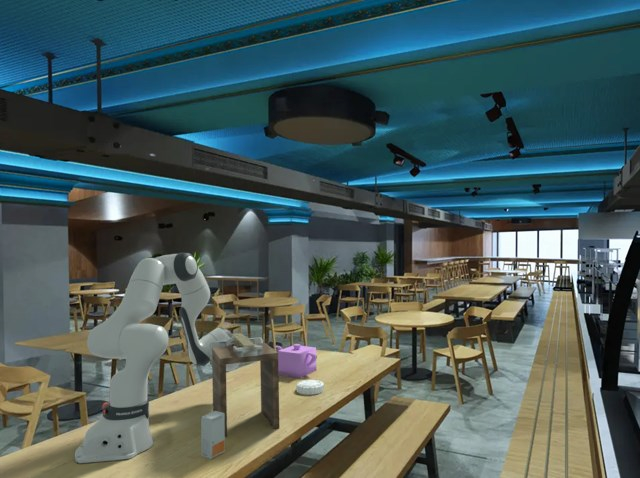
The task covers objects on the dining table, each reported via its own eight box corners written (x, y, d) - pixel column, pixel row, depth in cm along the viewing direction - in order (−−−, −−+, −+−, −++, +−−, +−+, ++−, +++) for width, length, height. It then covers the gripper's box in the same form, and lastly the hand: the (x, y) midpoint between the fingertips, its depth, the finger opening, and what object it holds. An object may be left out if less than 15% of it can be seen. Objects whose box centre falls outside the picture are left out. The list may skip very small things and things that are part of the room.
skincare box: (211, 459, 137) (210, 419, 137) (201, 456, 139) (200, 416, 139) (225, 451, 142) (225, 412, 142) (215, 448, 144) (215, 410, 144)
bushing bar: (244, 356, 155) (243, 345, 155) (232, 343, 176) (232, 333, 176) (254, 355, 157) (254, 344, 157) (241, 342, 177) (241, 333, 177)
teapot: (284, 365, 243) (283, 339, 243) (324, 371, 230) (324, 343, 230) (266, 373, 230) (265, 344, 230) (308, 379, 217) (307, 349, 217)
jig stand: (221, 438, 151) (220, 350, 152) (213, 419, 169) (211, 339, 169) (280, 429, 159) (278, 344, 159) (266, 411, 176) (265, 335, 176)
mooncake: (291, 393, 198) (291, 384, 198) (304, 385, 209) (304, 377, 209) (316, 396, 193) (316, 388, 193) (328, 388, 203) (328, 380, 203)
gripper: (206, 346, 181) (210, 333, 170) (257, 341, 188) (264, 329, 177) (207, 361, 178) (211, 350, 167) (259, 356, 185) (266, 345, 174)
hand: (239, 339), depth 172 cm, fingers closed on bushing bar, 4 cm apart
